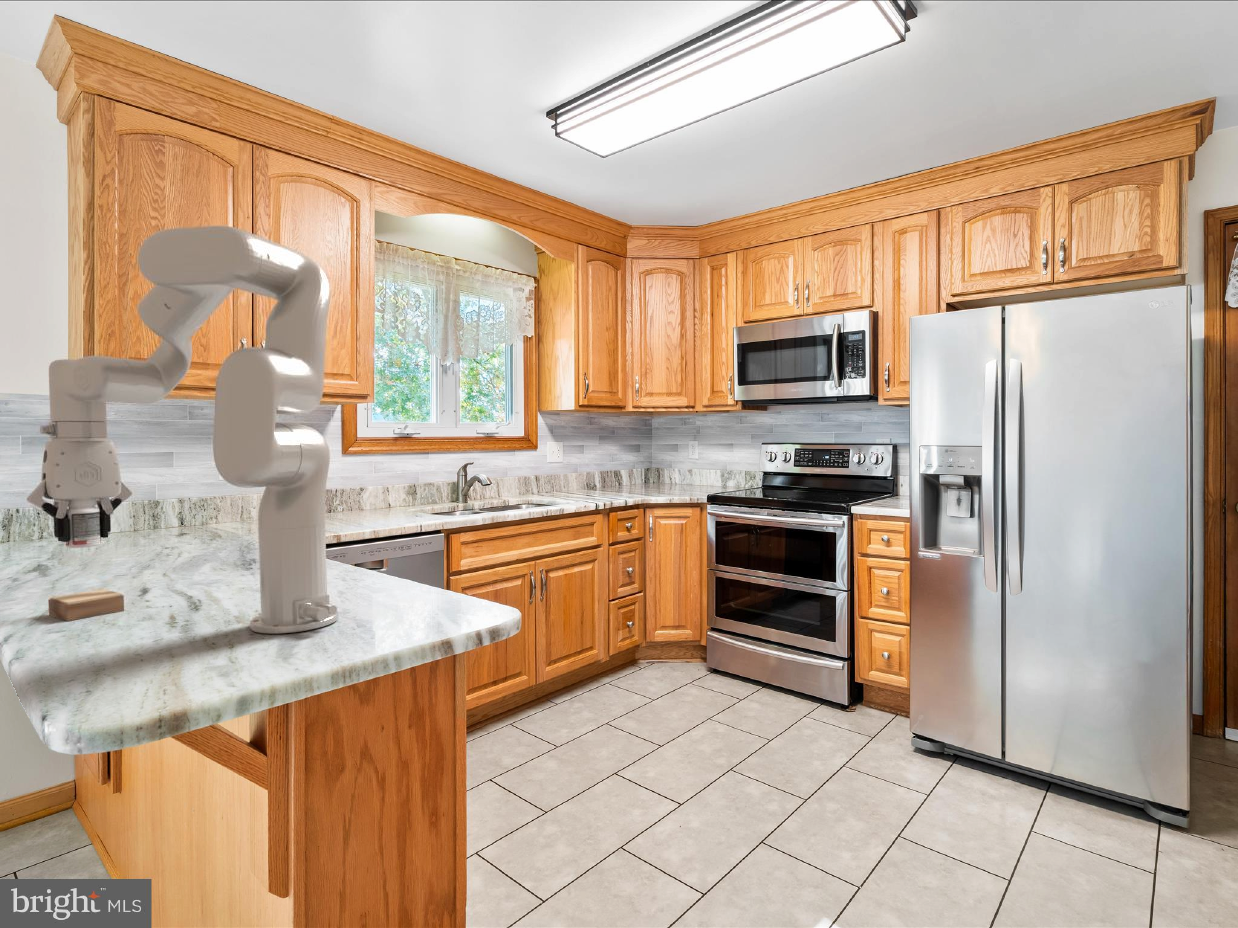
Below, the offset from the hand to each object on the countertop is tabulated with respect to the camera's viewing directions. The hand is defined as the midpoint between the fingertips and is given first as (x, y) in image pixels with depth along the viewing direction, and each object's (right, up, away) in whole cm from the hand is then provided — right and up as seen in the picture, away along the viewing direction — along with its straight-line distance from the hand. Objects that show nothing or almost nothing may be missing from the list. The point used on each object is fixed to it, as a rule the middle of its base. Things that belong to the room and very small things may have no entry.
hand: (83, 538), depth 116 cm
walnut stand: (0, -13, 0) cm, 13 cm away
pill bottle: (0, -2, 0) cm, 2 cm away
